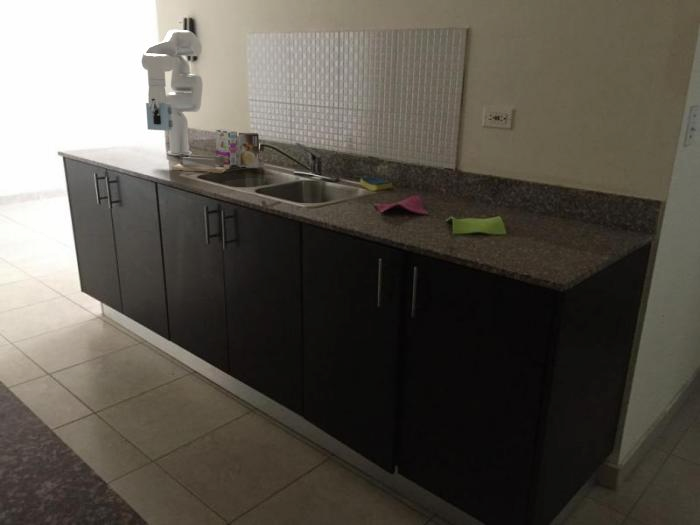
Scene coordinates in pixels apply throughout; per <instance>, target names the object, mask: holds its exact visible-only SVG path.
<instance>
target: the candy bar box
mask: <svg viewBox="0 0 700 525" xmlns="http://www.w3.org/2000/svg"><path fill="white" fill-rule="evenodd" d="M237 133H238V131H236V130H235V131H234V130H228V129H215V149H216V151H215V156H218V157H220V156H224V164H229V165H231V167H235V166H234V165H236V166H238V139H237V138H238V134H237Z"/></svg>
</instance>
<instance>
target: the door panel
mask: <svg viewBox="0 0 700 525" xmlns="http://www.w3.org/2000/svg"><path fill="white" fill-rule="evenodd" d="M145 107H146V108H145V110H146V122H147V124H146V125H147V130H151V131H164V132H165V131H166V132H167V131H168V132H169V130H172V127H173V123H172V120H171V114H172V107H171V106H170V104H168V103H164V104H161V108H160V115H159V116H160V117H161V124H160V125H159V124H154V119H153V112H152V110H151V108H149V102H146V103H145ZM155 108H156V109H158V108H157V107H155Z"/></svg>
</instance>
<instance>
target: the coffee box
mask: <svg viewBox="0 0 700 525" xmlns="http://www.w3.org/2000/svg"><path fill="white" fill-rule="evenodd" d="M259 137H260V136H259V133H258V132H238V157H239V158H238V159H239V165H240V166H239V167H240V168H241V167H246V168H245V169H252V168H253V169H254V168H255V169H260V143H259V142H260V139H259Z"/></svg>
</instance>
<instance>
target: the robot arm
mask: <svg viewBox="0 0 700 525" xmlns="http://www.w3.org/2000/svg"><path fill="white" fill-rule="evenodd" d="M201 53H202V43H201V41H200V40H199V38H198V37H197V36H196V34H195V33H194V32H192V31H191V30H181V29H170V30H168V31H167V32H166V33H165V36H164V37H163V39H162V41H161V42H159V43H156V44H153V45H152V46H148V47H147V49H146V50H145V51H144V52H143V54H142V57H141V64H142V68H143V69H144V70H145V71H147V78H148V79H147V80H148V81H147V82H148V94H147V96H148V103H149V108H151V110H152V112H153V119H154V124H159V125H160V124H161V117H160V116H159V115H160V108H161V104H164V103H168V104H170V106H171V107H172V114H171V120H172V123H173V127H172V130H169V131H168V132H169V133H168V134H169V136H168V137H169V150H168V151H167V152H166V153H167V155H169V156H176V157H180V153H183V154H184V157H186V156H188V155H193V152H192V151H190V150H189V149H190V144H189V126H188V118H187V117H186V115H185V114H184V113H185V112H187V113H198V112H199V111H200V109H201V105H202V97H203V86H204V85H203V80H202V77H201V76H200V75H199V74H197V73H190V69H191V68H190V65H189V63H188V62H187V60H186V59H185V58H184V57H183V56H185V57H199V56H200V55H201ZM168 72H171V79H170V87H171V90H172V91H173V92H172V91H171V92H168V93H167V94H166V87H167V86H166V73H168ZM155 107H157V108H158V109H156V108H155Z"/></svg>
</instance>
